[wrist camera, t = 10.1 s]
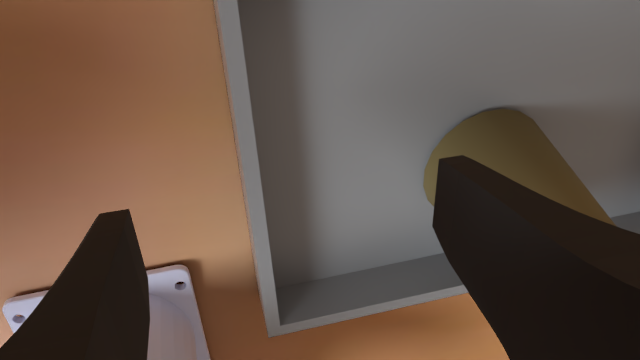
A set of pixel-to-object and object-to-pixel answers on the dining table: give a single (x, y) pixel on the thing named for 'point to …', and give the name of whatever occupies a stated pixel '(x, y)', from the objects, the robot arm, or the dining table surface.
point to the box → (407, 130)
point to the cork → (514, 158)
